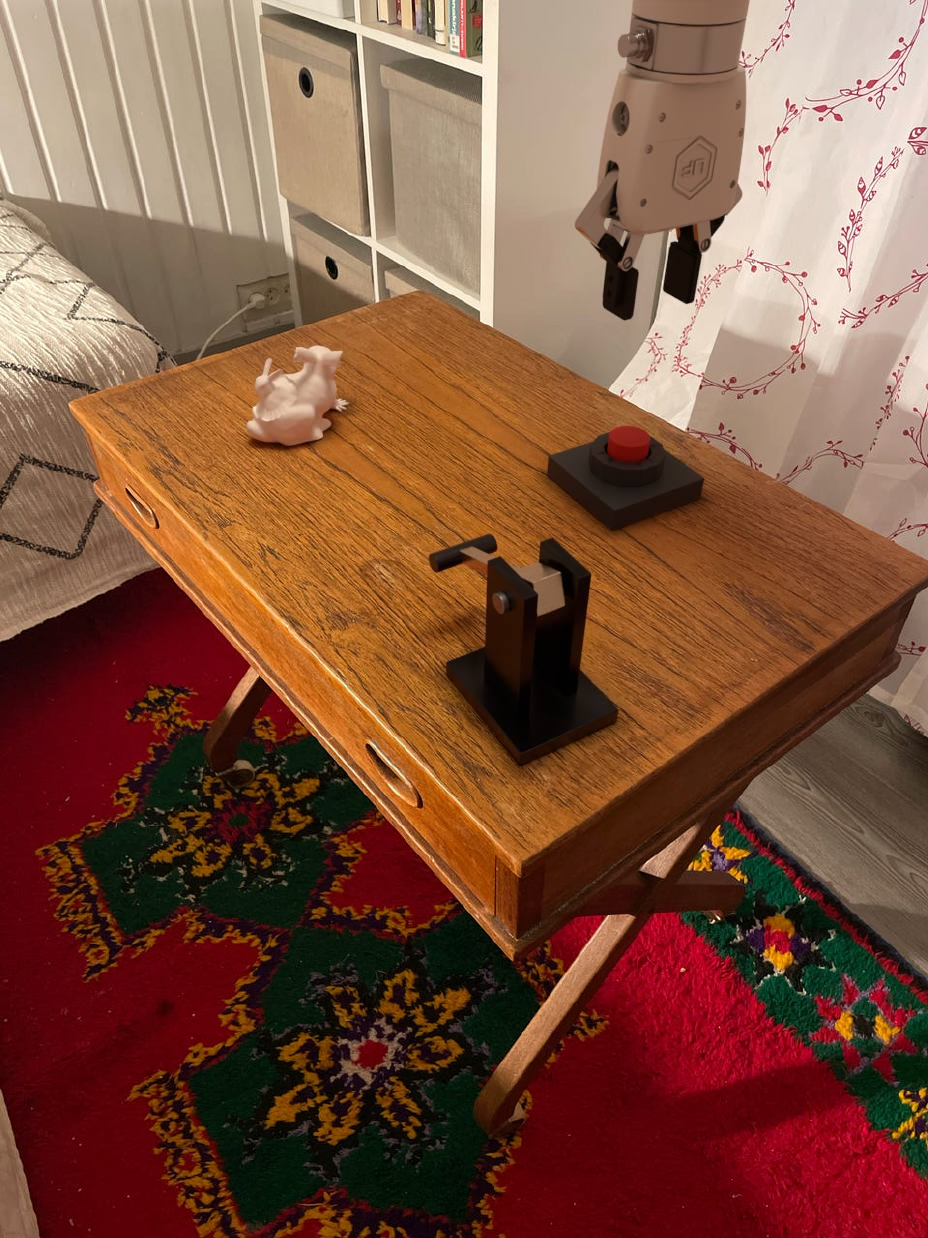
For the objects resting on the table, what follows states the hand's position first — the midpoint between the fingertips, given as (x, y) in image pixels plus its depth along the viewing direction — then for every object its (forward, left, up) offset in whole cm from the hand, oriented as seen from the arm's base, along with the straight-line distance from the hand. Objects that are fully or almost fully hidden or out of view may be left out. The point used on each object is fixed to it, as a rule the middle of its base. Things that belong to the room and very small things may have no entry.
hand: (648, 303), depth 77 cm
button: (0, 0, -14) cm, 14 cm away
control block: (0, 0, -17) cm, 17 cm away
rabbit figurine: (+21, -23, -18) cm, 36 cm away
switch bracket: (+22, +18, -17) cm, 33 cm away
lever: (+22, +14, -10) cm, 28 cm away
